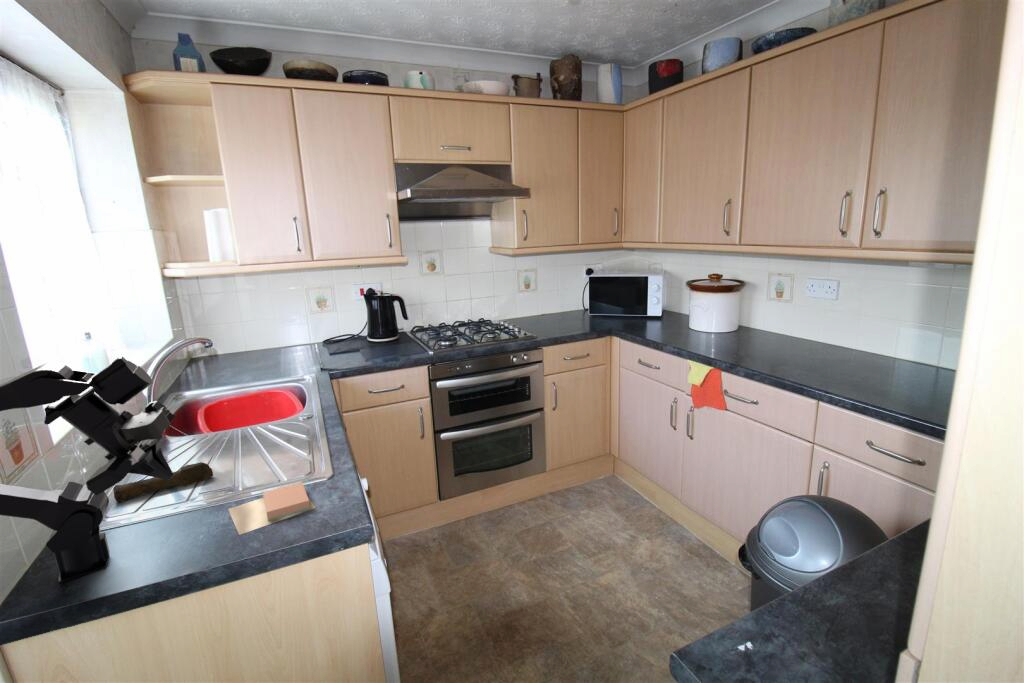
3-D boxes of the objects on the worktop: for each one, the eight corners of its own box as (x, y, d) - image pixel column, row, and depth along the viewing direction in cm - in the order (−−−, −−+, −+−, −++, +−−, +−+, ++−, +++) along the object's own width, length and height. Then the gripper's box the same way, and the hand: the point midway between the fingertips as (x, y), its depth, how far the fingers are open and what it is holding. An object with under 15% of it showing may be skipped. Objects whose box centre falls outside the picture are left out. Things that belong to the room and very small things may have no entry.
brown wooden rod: (114, 506, 110) (110, 487, 109) (117, 498, 113) (113, 480, 112) (213, 482, 120) (210, 465, 119) (213, 476, 123) (210, 458, 122)
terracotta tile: (266, 512, 100) (308, 500, 103) (262, 492, 107) (302, 482, 111) (267, 521, 100) (310, 509, 104) (264, 501, 108) (303, 490, 112)
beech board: (240, 540, 96) (239, 534, 96) (228, 514, 105) (228, 509, 105) (316, 512, 105) (315, 507, 104) (300, 490, 114) (299, 486, 114)
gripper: (101, 433, 78) (180, 494, 85) (162, 372, 94) (224, 427, 101) (49, 465, 79) (131, 522, 86) (117, 400, 96) (181, 452, 103)
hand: (171, 477), depth 94 cm, fingers closed
